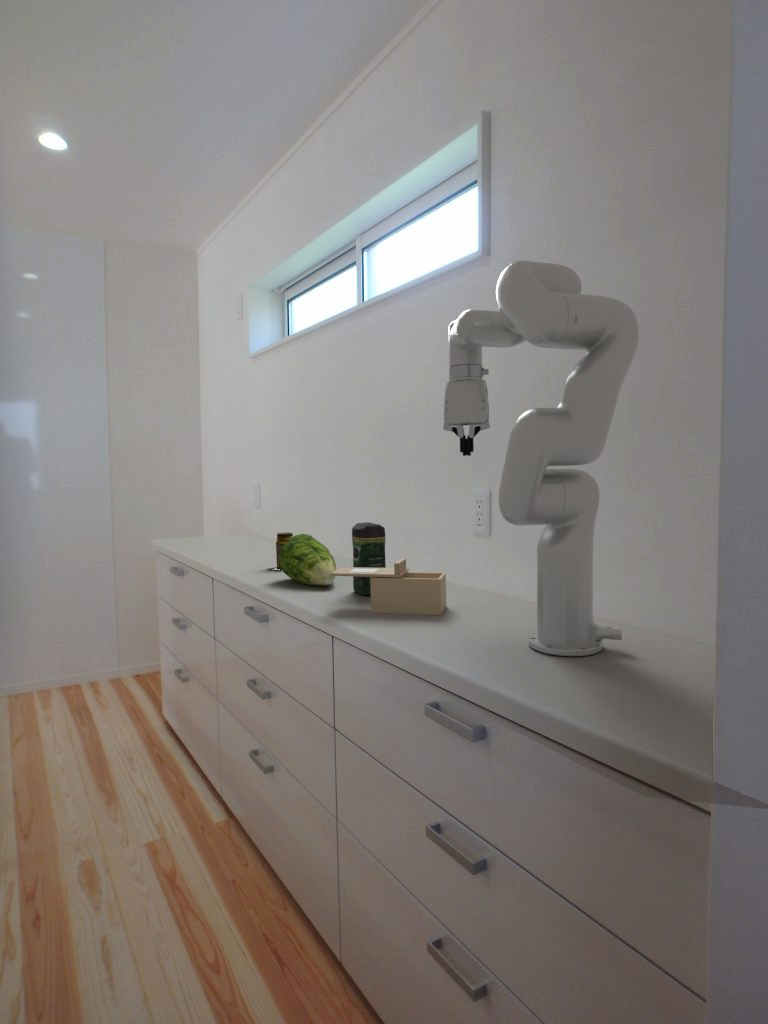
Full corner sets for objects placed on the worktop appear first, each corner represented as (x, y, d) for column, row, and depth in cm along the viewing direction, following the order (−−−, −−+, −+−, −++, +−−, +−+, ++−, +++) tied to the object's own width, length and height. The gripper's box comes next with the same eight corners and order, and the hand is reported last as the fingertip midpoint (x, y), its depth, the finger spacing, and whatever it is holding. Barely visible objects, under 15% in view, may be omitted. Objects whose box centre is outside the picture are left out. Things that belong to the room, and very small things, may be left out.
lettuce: (309, 607, 159) (305, 562, 155) (275, 578, 178) (271, 537, 174) (354, 593, 166) (351, 550, 162) (317, 566, 185) (314, 527, 181)
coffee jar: (391, 594, 152) (389, 523, 151) (362, 597, 149) (360, 525, 148) (376, 587, 161) (375, 520, 160) (349, 590, 158) (347, 522, 157)
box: (446, 606, 137) (445, 572, 137) (441, 615, 130) (440, 579, 129) (379, 604, 141) (379, 571, 141) (371, 612, 133) (370, 577, 133)
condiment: (300, 568, 197) (299, 532, 196) (279, 572, 191) (277, 535, 190) (287, 566, 202) (286, 531, 201) (266, 569, 196) (265, 533, 195)
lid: (408, 570, 139) (408, 558, 139) (400, 577, 131) (400, 564, 131) (342, 569, 143) (342, 557, 143) (330, 575, 135) (330, 562, 135)
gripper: (499, 375, 137) (500, 454, 138) (435, 379, 141) (437, 456, 142) (497, 370, 130) (498, 454, 131) (430, 375, 133) (432, 456, 135)
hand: (466, 455), depth 136 cm, fingers closed
